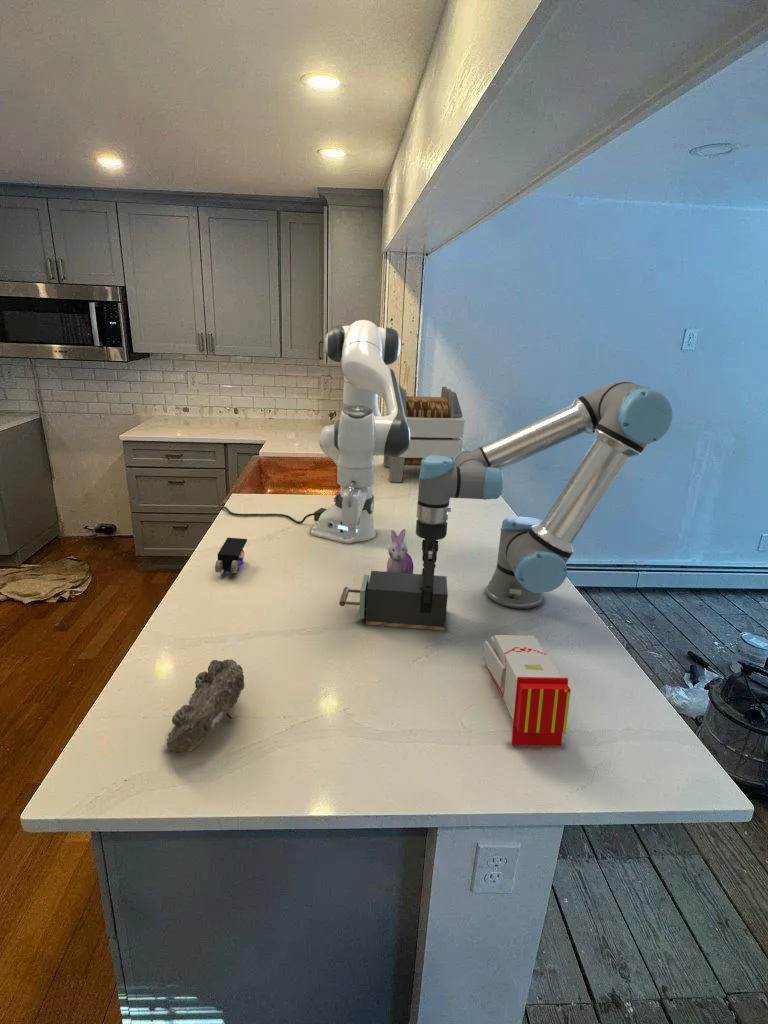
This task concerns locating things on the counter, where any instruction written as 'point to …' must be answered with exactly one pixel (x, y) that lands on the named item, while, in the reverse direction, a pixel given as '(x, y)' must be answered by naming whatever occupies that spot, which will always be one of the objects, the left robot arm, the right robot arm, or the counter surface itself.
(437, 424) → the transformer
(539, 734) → the toy
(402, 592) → the cabinet
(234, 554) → the black wheeled block
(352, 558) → the counter surface
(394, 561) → the figurine
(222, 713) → the fossil
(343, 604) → the drawer
